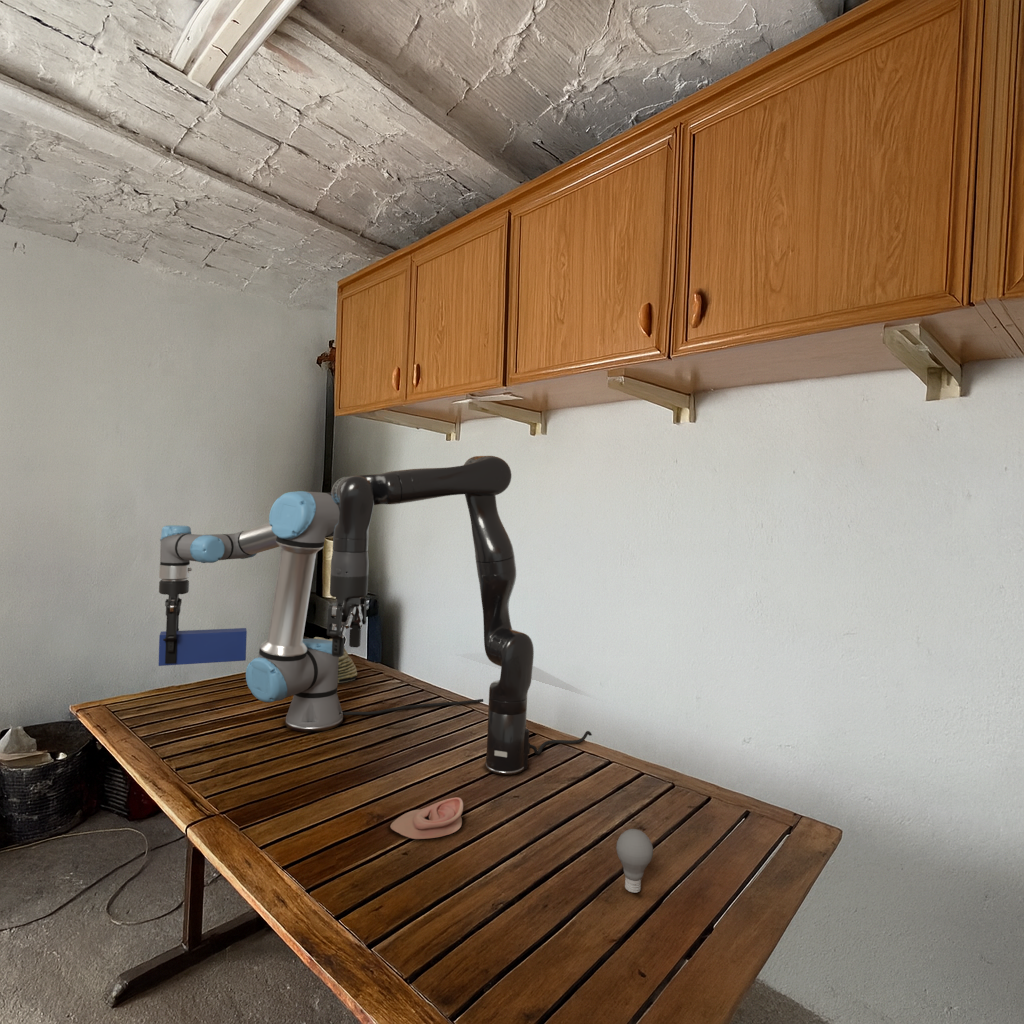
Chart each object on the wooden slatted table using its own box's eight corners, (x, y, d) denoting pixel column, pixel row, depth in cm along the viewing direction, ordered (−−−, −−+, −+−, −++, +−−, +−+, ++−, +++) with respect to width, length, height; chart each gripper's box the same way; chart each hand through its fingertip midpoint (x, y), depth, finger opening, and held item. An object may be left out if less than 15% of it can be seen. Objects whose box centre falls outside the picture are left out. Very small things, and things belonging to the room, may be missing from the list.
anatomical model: (384, 813, 120) (406, 787, 131) (383, 834, 120) (405, 806, 131) (452, 824, 117) (468, 796, 128) (451, 845, 117) (467, 815, 128)
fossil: (297, 682, 213) (299, 637, 212) (348, 673, 225) (349, 631, 225) (308, 688, 206) (310, 642, 206) (360, 679, 218) (361, 636, 218)
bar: (158, 666, 178) (159, 635, 178) (160, 661, 182) (160, 631, 182) (245, 660, 187) (246, 631, 187) (245, 656, 192) (246, 627, 191)
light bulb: (610, 879, 108) (613, 822, 108) (644, 879, 109) (647, 822, 109) (619, 902, 102) (622, 840, 102) (655, 901, 103) (658, 840, 103)
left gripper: (187, 583, 174) (184, 667, 175) (190, 575, 191) (187, 652, 191) (156, 584, 171) (153, 669, 172) (162, 575, 187) (159, 653, 188)
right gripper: (353, 578, 122) (349, 661, 123) (379, 570, 137) (376, 645, 137) (316, 575, 124) (313, 658, 124) (346, 568, 138) (343, 642, 138)
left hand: (171, 660), depth 181 cm, fingers closed on bar, 5 cm apart
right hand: (346, 651), depth 130 cm, fingers open, 8 cm apart
